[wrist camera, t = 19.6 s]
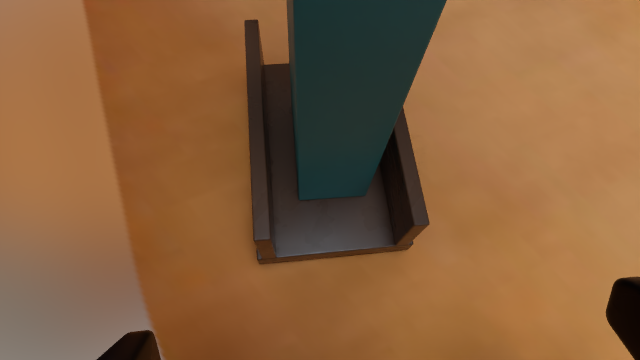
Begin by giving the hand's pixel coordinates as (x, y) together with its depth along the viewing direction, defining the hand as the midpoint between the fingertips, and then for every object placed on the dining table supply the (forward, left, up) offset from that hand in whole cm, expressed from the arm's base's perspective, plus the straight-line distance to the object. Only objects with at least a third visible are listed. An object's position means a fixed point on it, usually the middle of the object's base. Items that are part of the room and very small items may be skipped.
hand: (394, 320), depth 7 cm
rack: (+6, +6, -9) cm, 12 cm away
